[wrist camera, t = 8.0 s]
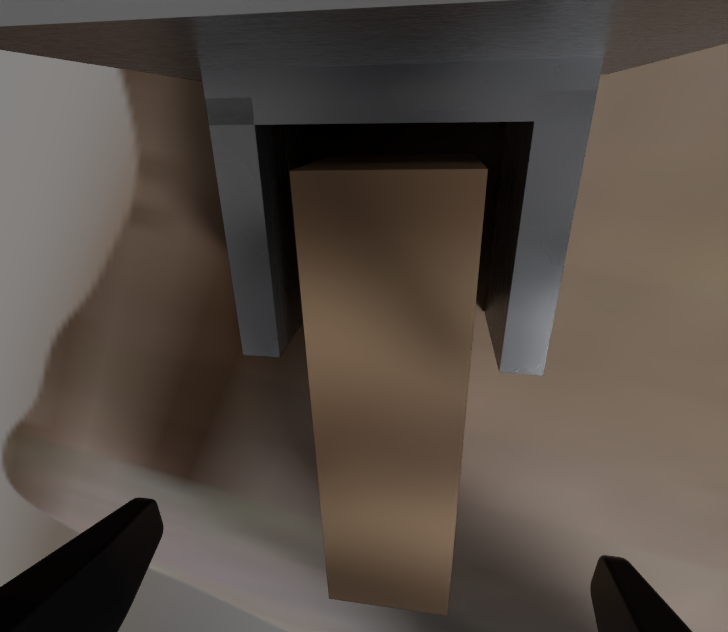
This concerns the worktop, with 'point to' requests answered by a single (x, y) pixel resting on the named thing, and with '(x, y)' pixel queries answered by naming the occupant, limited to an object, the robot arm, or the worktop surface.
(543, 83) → the bracket
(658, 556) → the worktop surface
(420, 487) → the rail
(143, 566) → the robot arm
